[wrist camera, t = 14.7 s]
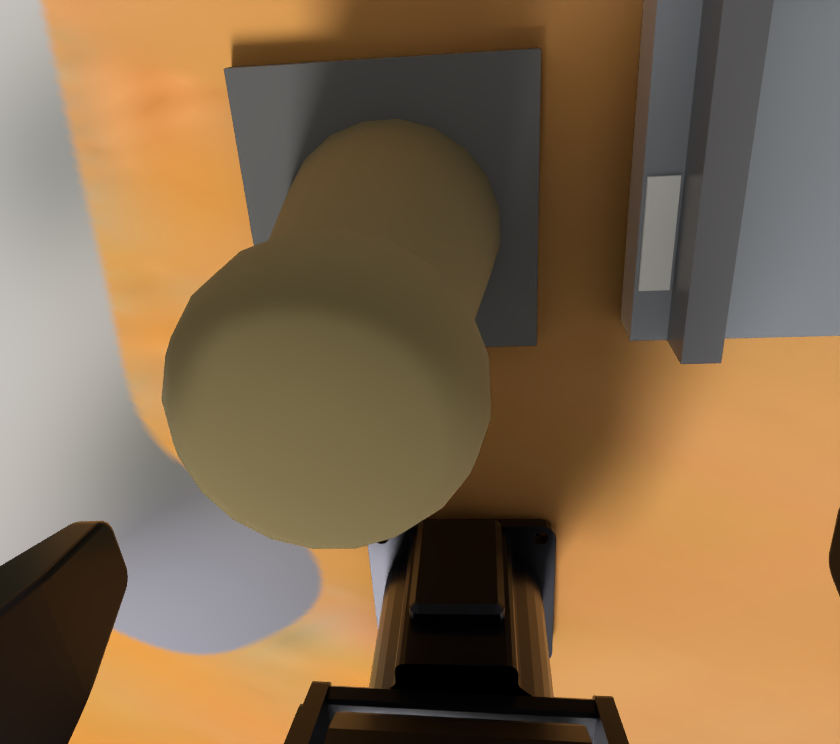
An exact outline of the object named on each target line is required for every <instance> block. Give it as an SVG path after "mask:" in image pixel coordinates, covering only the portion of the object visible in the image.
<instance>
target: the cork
mask: <svg viewBox="0 0 840 744" xmlns="http://www.w3.org/2000/svg"><path fill="white" fill-rule="evenodd" d="M499 246H500V215H499V207H498V205H497V202H496V199H495V196H494V194H493V191H492V188H491V185H490V182H489V180H488V177H487V176H486V174H485V173H484V172H483V170H482V169H481V168H480V167H479V165H478V164H477V163H476V162H475V160H474V159H473V158H472V156H471V155H470V154H469V153H468V151H467V150H466V149H465V148H464V147H462V146H461V145H459V144H458V143H456V142H455V141H453V140H452V139H450V138H449V137H447V136H446V135H444V134H443V133H441V132H440V131H438V130H437V129H435V128H432V127H428V126H424V125H421V124H417V123H413V122H410V121H406V120H402V119H389V120H374V121H363V122H360V123H358V124H356V125H353V126H351V127H349V128H346V129H344V130H342V131H339V132H337V133H335V134H332V135H330V136H329V137H328V138H327V139H326V140H325V141H324V142H323V143H322V144H321V145H320V146H318V147H317V148H316V149H315V150H314V151H313V152H312V153H311V154H310V155H309V156H308V157H307V158H305V160H304V162H303V164H302V166H301V168H300V170H299V171H298V173H297V175H296V177H295V179H294V181H293V183H292V185H291V187H290V188H289V191H288V193H287V196H286V198H285V201H284V203H283V205H282V208H281V210H280V213H279V215H278V218H277V220H276V223H275V225H274V228H273V230H272V232H271V235H270V237H269V240H268V241H265V242H263V243H260V244H258V245H255V246H253V247H250V248H248V249H245V250H243V251H240V252H239V253H238V254H237V255H236V256H235V257H233V258H232V259H231V260H230V261H229V262H228V263H227V264H226V265H225V266H224V267H222V268H221V269H220V270H219V271H218V272H217V273H216V274H215V275H214V276H212V277H211V278H210V279H209V280H208V281H207V282H206V283H205V284H204V285H203V286H201V287H200V288H199V289H198V290H197V291H196V292H195V293H194V294H193V295H192V296H191V298H190V300H189V302H188V304H187V306H186V308H185V310H184V312H183V314H182V316H181V318H180V320H179V322H178V324H177V326H176V328H175V330H174V332H173V334H172V336H171V339H170V342H169V345H168V349H167V352H166V355H165V366H164V378H163V390H162V403H163V406H164V410H165V414H166V417H167V421H168V425H169V429H170V432H171V436H172V440H173V443H174V446H175V449H176V451H177V454H178V457H179V458H180V460H181V461H182V463H183V464H184V466H185V467H186V469H187V470H188V472H189V474H190V475H191V477H192V478H193V480H194V481H195V483H196V484H197V486H198V487H199V489H200V490H201V492H203V493H204V494H205V495H206V496H207V497H208V498H209V499H210V500H212V501H213V502H214V503H215V504H216V505H217V506H218V507H220V508H221V509H222V510H223V511H224V512H225V513H226V514H228V515H229V516H230V517H231V518H232V519H233V520H235V521H237V522H239V523H241V524H243V525H245V526H247V527H249V528H251V529H253V530H255V531H257V532H259V533H261V534H263V535H265V536H267V537H269V538H271V539H274V540H278V541H282V542H286V543H291V544H295V545H299V546H303V547H307V548H312V549H350V548H359V547H362V546H366V545H370V544H373V543H377V542H380V541H384V540H388V539H391V538H395V537H396V536H398V535H400V534H401V533H403V532H405V531H407V530H408V529H410V528H411V527H413V526H414V525H416V524H418V523H419V522H421V521H422V520H424V519H426V518H427V517H429V516H430V515H432V514H434V513H435V512H437V511H438V510H440V509H441V508H443V507H444V506H445V504H446V503H447V502H448V501H449V499H450V498H451V497H452V496H453V495H454V493H455V492H456V491H457V490H458V488H459V487H460V486H461V485H462V484H463V482H464V481H465V480H466V479H467V477H468V476H469V475H470V473H471V471H472V468H473V466H474V464H475V462H476V460H477V457H478V454H479V452H480V449H481V446H482V443H483V440H484V437H485V434H486V431H487V428H488V425H489V422H490V419H491V394H490V368H489V355H488V352H487V350H486V347H485V345H484V342H483V340H482V337H481V335H480V332H479V330H478V327H477V325H476V322H475V318H476V315H477V312H478V309H479V306H480V304H481V301H482V298H483V295H484V292H485V289H486V287H487V284H488V281H489V278H490V275H491V272H492V269H493V266H494V262H495V259H496V256H497V253H498V249H499Z"/></svg>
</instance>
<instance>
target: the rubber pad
mask: <svg viewBox="0 0 840 744" xmlns="http://www.w3.org/2000/svg"><path fill="white" fill-rule="evenodd" d="M224 73H225V79H226V85H227V91H228V97H229V103H230V109H231V114H232V120H233V126H234V132H235V138H236V144H237V150H238V156H239V161H240V167H241V173H242V179H243V185H244V191H245V197H246V202H247V208H248V214H249V220H250V226H251V232H252V238H253V244H254V246H255V245H258V244H260V243H263V242H265V241H268V240H269V237H270V235H271V232H272V230H273V228H274V225H275V223H276V220H277V218H278V215H279V213H280V210H281V208H282V205H283V203H284V201H285V198H286V196H287V193H288V191H289V188H290V187H291V185H292V183H293V181H294V179H295V177H296V175H297V173H298V171H299V170H300V168H301V166H302V164H303V162H304V160H305V158H307V157H308V156H309V155H310V154H311V153H312V152H313V151H314V150H315V149H316V148H317V147H318V146H320V145H321V144H322V143H323V142H324V141H325V140H326V139H327V138H328V137H329V136H330V135H332V134H335V133H337V132H339V131H342V130H344V129H346V128H349V127H351V126H353V125H356V124H358V123H360V122H363V121H374V120H389V119H402V120H406V121H410V122H413V123H417V124H421V125H424V126H428V127H432V128H435V129H437V130H438V131H440V132H441V133H443V134H444V135H446V136H447V137H449V138H450V139H452V140H453V141H455V142H456V143H458V144H459V145H461V146H462V147H464V148H465V149H466V150H467V151H468V153H469V154H470V155H471V156H472V158H473V159H474V160H475V162H476V163H477V164H478V165H479V167H480V168H481V169H482V170H483V172H484V173H485V174H486V176H487V177H488V180H489V182H490V185H491V188H492V191H493V194H494V196H495V199H496V202H497V205H498V207H499V215H500V246H499V249H498V253H497V256H496V259H495V262H494V266H493V269H492V272H491V275H490V278H489V281H488V284H487V287H486V289H485V292H484V295H483V298H482V301H481V304H480V306H479V309H478V312H477V315H476V318H475V322H476V325H477V327H478V330H479V332H480V335H481V337H482V340H483V342H484V345H485V347H503V346H537V281H538V215H539V149H540V83H541V49H540V48H530V49H514V50H497V51H481V52H465V53H449V54H433V55H417V56H400V57H384V58H368V59H352V60H336V61H319V62H303V63H287V64H271V65H255V66H239V67H229V68H225V69H224Z"/></svg>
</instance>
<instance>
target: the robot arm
mask: <svg viewBox="0 0 840 744" xmlns="http://www.w3.org/2000/svg"><path fill="white" fill-rule="evenodd" d="M540 532H542V533H545V535H544V536H540V537H539V536H536V535H535V534H537V533H540ZM555 549H556V536H555V530H554V526H553V525H552V524H551V522H549V521H547V520H542V519H424V520H422V521H421V522H419V523H418V524H416V525H414V526H413V527H411V528H410V529H408V530H407V531H405V532H403V533H401V534H400V535H398V536H396V537H395V538H391V539H388V540H384V541H380V542H377V543H373V544H370V545H368V551H369V559H370V568H371V576H372V584H373V593H374V601H375V609H376V618H377V626H378V634H377V640H376V647H375V653H374V659H373V665H372V672H371V678H370V684H369V688H366V687H346V686H332V685H331V682H317V681H313V682H312V684H311V686H310V689H309V691H308V693H307V696H306V698H305V701H304V703H303V704H300V706H299V708H298V710H297V713H296V715H295V718H294V720H293V723H292V725H291V728H290V730H289V732H288V735H287V737H286V740H285V742H284V744H629V742H628V739H627V736H626V734H625V731H624V728H623V725H622V722H621V719H620V716H619V713H618V710H617V708H616V705H615V702H614V699H613V697H611V696H593V699H580V698H561V697H554V696H553V687H552V678H551V669H550V660H549V658H550V657H551V655H552V639H553V609H554V579H555ZM829 567H830V572H831V575H832V578H833V581H834V583H835V586H836V588H837V591H838V593H839V596H840V508H839V511H838V515H837V519H836V524H835V529H834V533H833V538H832V543H831V547H830V552H829ZM127 579H128V575H127V568H126V565H125V562H124V559H123V557H122V554H121V551H120V548H119V546H118V543H117V540H116V537H115V534H114V531H113V529H112V527H111V526H110V525H109V524H108V523H107V522H104V521H81V522H75V523H72V524H70V525H68V526H67V527H65V528H63V529H62V530H60V531H58V532H57V533H55V534H53V535H52V536H50V537H48V538H47V539H45V540H43V541H42V542H40V543H38V544H37V545H35V546H33V547H32V548H30V549H28V550H27V551H25V552H23V553H21V554H20V555H18V556H16V557H15V558H13V559H12V560H10V561H8V562H6V563H5V564H3V565H1V566H0V744H68V743H69V740H70V738H71V736H72V734H73V732H74V729H75V727H76V725H77V723H78V721H79V718H80V716H81V714H82V712H83V709H84V707H85V704H86V702H87V700H88V697H89V695H90V692H91V689H92V687H93V684H94V682H95V679H96V676H97V673H98V670H99V667H100V664H101V661H102V658H103V655H104V652H105V649H106V646H107V643H108V641H109V638H110V635H111V632H112V629H113V626H114V623H115V620H116V617H117V614H118V611H119V608H120V605H121V602H122V599H123V596H124V593H125V590H126V587H127Z"/></svg>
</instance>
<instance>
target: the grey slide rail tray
mask: <svg viewBox="0 0 840 744" xmlns="http://www.w3.org/2000/svg"><path fill="white" fill-rule="evenodd" d="M620 320H621V322H622V324H623V326H624V329H625V331H626V333H627V335H628V337H629V340H630V341H643V340H667V341H668V342H669V344H670V346H671V348H672V349H673V351H674V353H675V355H676V356H677V358H678V360H679V362H680V363H681V364H705V363H721V359H722V352H723V346H724V339H725V338H765V337H805V336H840V0H644V2H643V15H642V29H641V43H640V57H639V71H638V84H637V98H636V112H635V126H634V140H633V153H632V167H631V181H630V195H629V209H628V222H627V236H626V250H625V264H624V278H623V291H622V305H621V319H620Z"/></svg>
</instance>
